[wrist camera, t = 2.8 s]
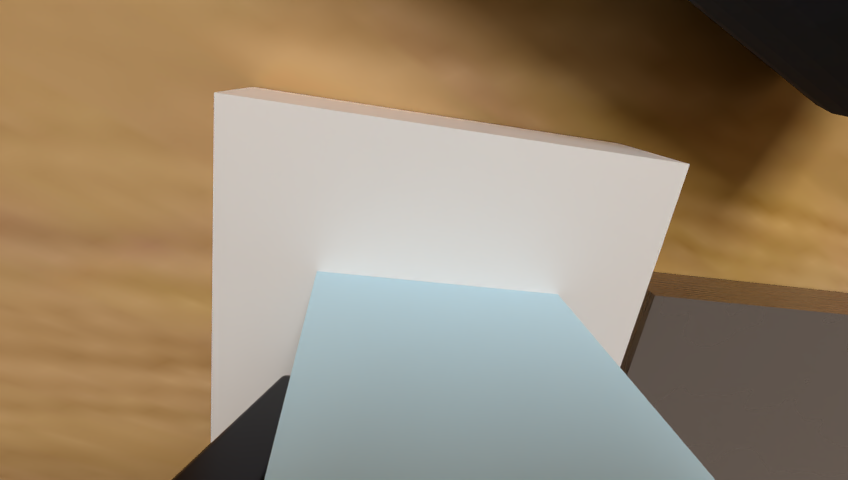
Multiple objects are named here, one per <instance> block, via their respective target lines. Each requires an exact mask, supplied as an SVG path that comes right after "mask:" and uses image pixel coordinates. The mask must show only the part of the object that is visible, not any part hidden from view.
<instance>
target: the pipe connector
mask: <svg viewBox="0 0 848 480" xmlns="http://www.w3.org/2000/svg"><path fill="white" fill-rule="evenodd" d="M688 1H689V2H691V3H692V4H693V5H694V6H696V7H697V8H698V9H699V10H700V11H702V12H703V13H704V14H705V15H707V16H708V17H709V18H710V19H712V20H713V21H714V22H715V23H716V24H718V25H719V26H720V27H721V28H723V29H724V30H725V31H726V32H728V33H729V34H730V35H731V36H732V37H734V38H735V39H736V40H737V41H739V42H740V43H741V44H742V45H744V46H745V47H746V48H747V49H748V50H750V51H751V52H752V53H753V54H755V55H756V56H757V57H758V58H760V59H761V60H762V61H763V62H764V63H766V64H767V65H768V66H769V67H771V68H772V69H773V70H774V71H776V72H777V73H778V74H779V75H780V76H782V77H783V78H784V79H785V80H787V81H788V82H789V83H790V84H792V85H793V86H794V87H795V88H796V89H798V90H799V91H800V92H801V93H803V94H804V95H805V96H806V97H808V98H809V99H810V100H811V101H812V102H814V103H815V104H816V105H818V106H820V107H822V108H823V109H825V110H827V111H829V112H831V113H834V114H838V115H842V116H847V117H848V0H688Z"/></svg>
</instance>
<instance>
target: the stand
mask: <svg viewBox="0 0 848 480" xmlns="http://www.w3.org/2000/svg"><path fill="white" fill-rule="evenodd" d="M689 165H690V164H688V163H684V162H681V161H678V160H674V159H671V158H667V157H664V156H660V155H657V154H654V153H650V152H647V151H643V150H640V149H636V148H633V147H630V146H626V145H623V144H619V143H613V142H607V141H600V140H594V139H587V138H581V137H574V136H568V135H561V134H555V133H548V132H542V131H535V130H529V129H522V128H516V127H510V126H503V125H497V124H490V123H484V122H477V121H471V120H464V119H458V118H451V117H445V116H438V115H432V114H425V113H419V112H412V111H406V110H399V109H393V108H386V107H380V106H373V105H367V104H361V103H354V102H348V101H341V100H335V99H328V98H322V97H315V96H309V95H302V94H296V93H289V92H283V91H276V90H270V89H263V88H257V87H249V88H242V89H235V90H228V91H221V92H214V165H213V271H212V377H211V442H213V441H214V440H215V439H216V438H217V437H218V436H219V435H220V434H221V433H222V432H223V431H224V430H225V429H226V428H227V427H229V426H230V425H231V424H232V423H233V422H234V421H235V420H236V419H237V418H238V417H239V416H240V415H241V414H242V413H243V412H244V411H246V410H247V409H248V408H249V407H250V406H251V405H252V404H253V403H254V402H255V401H256V400H257V399H258V398H259V397H260V396H262V395H263V394H264V393H265V392H266V391H267V390H268V389H269V388H270V387H271V386H272V385H273V384H274V383H275V382H276V381H277V380H279V379H280V378H281V377H282V376H284V375H291V372H292V368H293V364H294V360H295V356H296V352H297V348H298V344H299V340H300V336H301V332H302V328H303V324H304V320H305V316H306V312H307V308H308V304H309V300H310V296H311V292H312V288H313V284H314V280H315V276H316V273H317V271H320V272H330V273H341V274H351V275H362V276H372V277H383V278H393V279H403V280H414V281H424V282H435V283H445V284H456V285H466V286H476V287H487V288H497V289H508V290H518V291H529V292H539V293H549V294H558V295H559V296H560V297H561V299H562V300H563V301H564V302H565V303H566V304H567V306H568V307H569V308H570V309H571V310H572V312H573V313H574V314H575V315H576V316H577V317H578V319H579V320H580V321H581V322H582V323H583V324H584V326H585V327H586V328H587V329H588V330H589V332H590V333H591V334H592V335H593V336H594V337H595V339H596V340H597V341H598V342H599V343H600V345H601V346H602V347H603V348H604V349H605V350H606V352H607V353H608V354H609V355H610V356H611V357H612V359H613V360H614V361H615V362H616V363H617V365H618V366H619V367H620V366H621V363H622V360H623V357H624V355H625V352H626V349H627V346H628V343H629V340H630V337H631V334H632V331H633V328H634V325H635V323H636V320H637V317H638V314H639V311H640V308H641V305H642V302H643V299H644V296H645V293H646V291H647V288H648V285H649V282H650V279H651V276H652V273H653V270H654V267H655V264H656V261H657V259H658V256H659V253H660V250H661V247H662V244H663V241H664V238H665V235H666V232H667V229H668V227H669V224H670V221H671V218H672V215H673V212H674V209H675V206H676V203H677V200H678V197H679V195H680V192H681V189H682V186H683V183H684V180H685V177H686V174H687V171H688V168H689Z"/></svg>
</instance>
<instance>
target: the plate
mask: <svg viewBox="0 0 848 480" xmlns="http://www.w3.org/2000/svg"><path fill="white" fill-rule="evenodd" d="M620 368H621V369H622V370H623V372H624V373H625V374H626V375H627V376H628V377H629V379H630V380H631V381H632V382H633V383H634V385H635V386H636V387H637V388H638V389H639V390H640V392H641V393H642V394H643V395H644V396H645V398H646V399H647V400H648V401H649V402H650V403H651V405H652V406H653V407H654V408H655V409H656V410H657V412H658V413H659V414H660V415H661V416H662V418H663V419H664V420H665V421H666V422H667V423H668V425H669V426H670V427H671V428H672V429H673V431H674V432H675V433H676V434H677V435H678V436H679V438H680V439H681V440H682V441H683V442H684V443H685V445H686V446H687V447H688V448H689V449H690V451H691V452H692V453H693V454H694V455H695V456H696V458H697V459H698V460H699V461H700V462H701V463H702V465H703V466H704V467H705V468H706V469H707V471H708V472H709V473H710V474H711V475H712V476H713V478H714V479H715V480H848V293H842V292H833V291H824V290H814V289H805V288H796V287H787V286H777V285H768V284H759V283H750V282H741V281H731V280H722V279H713V278H704V277H694V276H685V275H676V274H667V273H657V272H653V273H652V276H651V279H650V282H649V285H648V288H647V291H646V293H645V296H644V299H643V302H642V305H641V308H640V311H639V314H638V317H637V320H636V323H635V325H634V328H633V331H632V334H631V337H630V340H629V343H628V346H627V349H626V352H625V355H624V357H623V360H622V363H621V366H620Z"/></svg>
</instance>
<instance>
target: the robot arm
mask: <svg viewBox="0 0 848 480" xmlns="http://www.w3.org/2000/svg"><path fill="white" fill-rule="evenodd" d="M290 376H291V375H284V376H282V377H281V378H280V379H279V380H277V381H276V382H275V383H274V384H273V385H272V386H271V387H270V388H269V389H268V390H267V391H266V392H265V393H264V394H263V395H262V396H260V397H259V398H258V399H257V400H256V401H255V402H254V403H253V404H252V405H251V406H250V407H249V408H248V409H247V410H246V411H244V412H243V413H242V414H241V415H240V416H239V417H238V418H237V419H236V420H235V421H234V422H233V423H232V424H231V425H230V426H229V427H227V428H226V429H225V430H224V431H223V432H222V433H221V434H220V435H219V436H218V437H217V438H216V439H215V440H214V441H213V442H211V443H210V444H209V445H208V446H207V447H206V448H205V449H204V450H203V451H202V452H201V453H200V454H199V455H198V456H197V457H196V458H194V459H193V460H192V461H191V462H190V463H189V464H188V465H187V466H186V467H185V468H184V469H183V470H182V471H181V472H180V473H178V474H177V475H176V476H175V477H174V478H173V479H172V480H264V479H265V475H266V471H267V467H268V463H269V459H270V455H271V451H272V447H273V443H274V439H275V435H276V431H277V427H278V423H279V419H280V415H281V411H282V407H283V403H284V399H285V395H286V391H287V388H288V384H289V380H290Z"/></svg>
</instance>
